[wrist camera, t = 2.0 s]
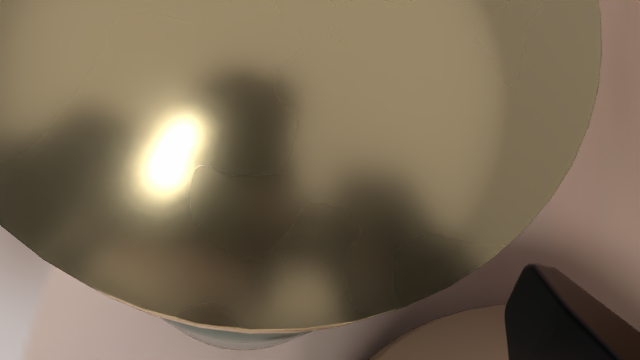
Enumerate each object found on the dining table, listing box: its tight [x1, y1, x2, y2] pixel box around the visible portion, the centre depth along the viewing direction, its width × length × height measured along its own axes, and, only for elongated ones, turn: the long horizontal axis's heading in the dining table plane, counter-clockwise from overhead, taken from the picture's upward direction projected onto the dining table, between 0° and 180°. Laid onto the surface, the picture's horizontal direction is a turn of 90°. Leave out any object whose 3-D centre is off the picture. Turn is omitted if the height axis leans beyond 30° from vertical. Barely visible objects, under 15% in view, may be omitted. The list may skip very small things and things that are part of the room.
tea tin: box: [0, 0, 602, 350], centre depth 12 cm, size 7×7×13 cm
